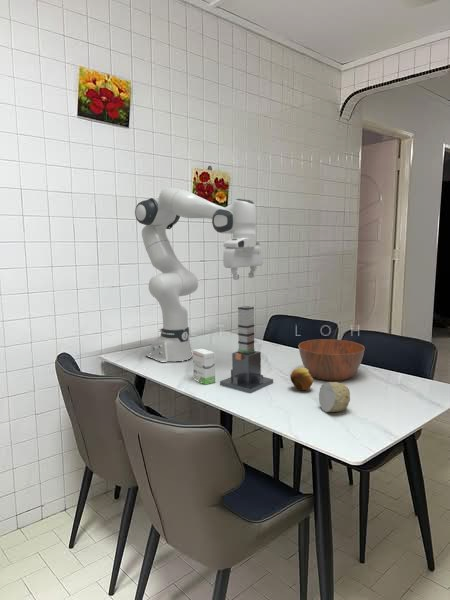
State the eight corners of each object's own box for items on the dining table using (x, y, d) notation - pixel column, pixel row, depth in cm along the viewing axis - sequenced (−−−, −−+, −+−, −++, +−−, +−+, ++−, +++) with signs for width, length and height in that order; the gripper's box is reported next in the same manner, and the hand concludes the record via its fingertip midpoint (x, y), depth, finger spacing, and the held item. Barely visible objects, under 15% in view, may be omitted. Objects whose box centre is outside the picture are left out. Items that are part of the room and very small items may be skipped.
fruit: (308, 395, 151) (308, 372, 149) (286, 391, 155) (286, 368, 154) (316, 388, 157) (316, 366, 156) (294, 384, 161) (294, 363, 160)
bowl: (368, 369, 178) (368, 342, 177) (358, 388, 156) (359, 357, 154) (307, 363, 189) (307, 337, 187) (290, 380, 167) (290, 350, 165)
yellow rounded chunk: (307, 386, 139) (333, 370, 141) (319, 413, 140) (345, 398, 143) (321, 393, 130) (349, 377, 132) (334, 423, 131) (361, 406, 133)
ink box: (215, 382, 165) (215, 352, 164) (204, 385, 162) (204, 354, 161) (203, 377, 172) (202, 347, 171) (192, 379, 169) (191, 349, 168)
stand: (220, 385, 162) (219, 352, 160) (243, 376, 173) (243, 345, 171) (250, 393, 153) (250, 358, 151) (273, 383, 164) (273, 350, 162)
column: (238, 356, 161) (237, 307, 159) (245, 353, 164) (244, 306, 162) (247, 357, 158) (247, 308, 156) (254, 355, 162) (254, 306, 159)
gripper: (254, 241, 178) (253, 276, 180) (220, 242, 163) (220, 280, 165) (267, 242, 174) (266, 277, 176) (233, 243, 158) (233, 281, 161)
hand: (243, 278), depth 170 cm, fingers open, 8 cm apart
